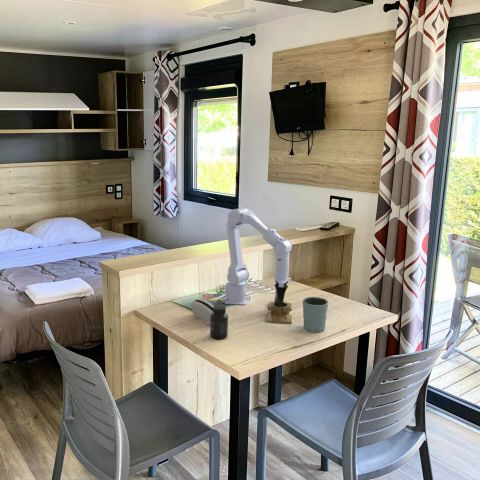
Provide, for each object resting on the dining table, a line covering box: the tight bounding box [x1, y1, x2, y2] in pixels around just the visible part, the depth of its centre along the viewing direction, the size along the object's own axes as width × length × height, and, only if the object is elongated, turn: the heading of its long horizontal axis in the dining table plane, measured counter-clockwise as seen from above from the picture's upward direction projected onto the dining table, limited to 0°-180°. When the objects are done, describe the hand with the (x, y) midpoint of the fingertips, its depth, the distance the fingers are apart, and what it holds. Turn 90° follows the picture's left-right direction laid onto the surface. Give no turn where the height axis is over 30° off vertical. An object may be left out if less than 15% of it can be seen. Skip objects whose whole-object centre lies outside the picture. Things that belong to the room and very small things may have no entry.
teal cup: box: [302, 296, 329, 334], centre depth 198 cm, size 10×10×12 cm
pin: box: [273, 284, 285, 304], centre depth 214 cm, size 5×5×8 cm
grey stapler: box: [190, 298, 215, 325], centre depth 204 cm, size 17×5×10 cm, turn 40°
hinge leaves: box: [267, 301, 293, 324], centre depth 215 cm, size 10×23×4 cm, turn 174°
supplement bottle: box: [209, 304, 229, 341], centre depth 188 cm, size 7×7×12 cm
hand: (280, 298), depth 214 cm, fingers closed on pin, 5 cm apart
